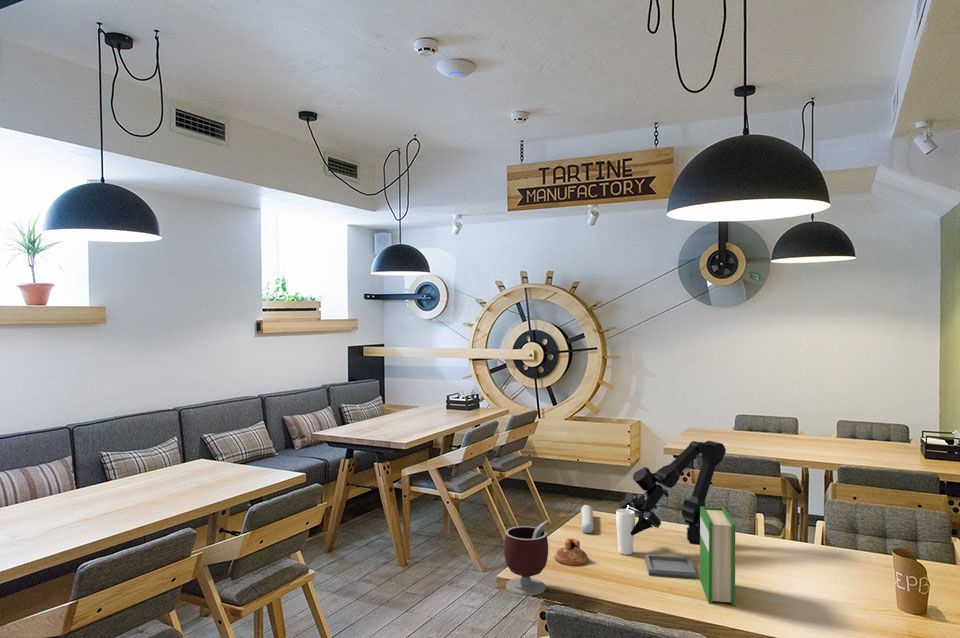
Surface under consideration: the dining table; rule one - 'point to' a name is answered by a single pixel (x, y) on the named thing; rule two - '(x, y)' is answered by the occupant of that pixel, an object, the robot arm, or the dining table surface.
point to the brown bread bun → (571, 553)
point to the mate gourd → (526, 558)
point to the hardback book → (717, 554)
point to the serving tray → (670, 566)
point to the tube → (587, 519)
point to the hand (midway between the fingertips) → (625, 531)
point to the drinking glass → (625, 530)
